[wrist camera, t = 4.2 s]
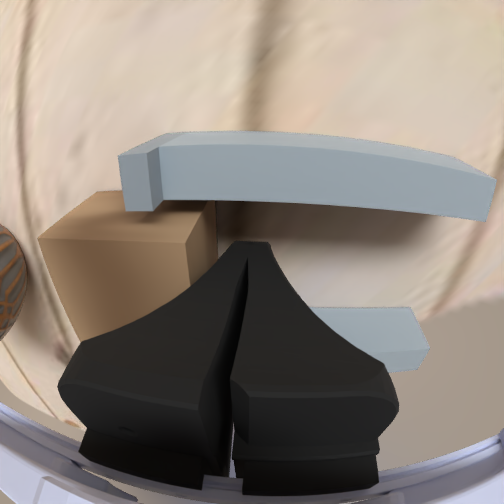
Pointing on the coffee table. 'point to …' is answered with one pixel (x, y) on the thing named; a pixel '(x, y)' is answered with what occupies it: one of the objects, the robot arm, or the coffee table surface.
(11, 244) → the vase
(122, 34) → the coffee table surface
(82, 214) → the walnut block
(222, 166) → the pair of lipped bars
